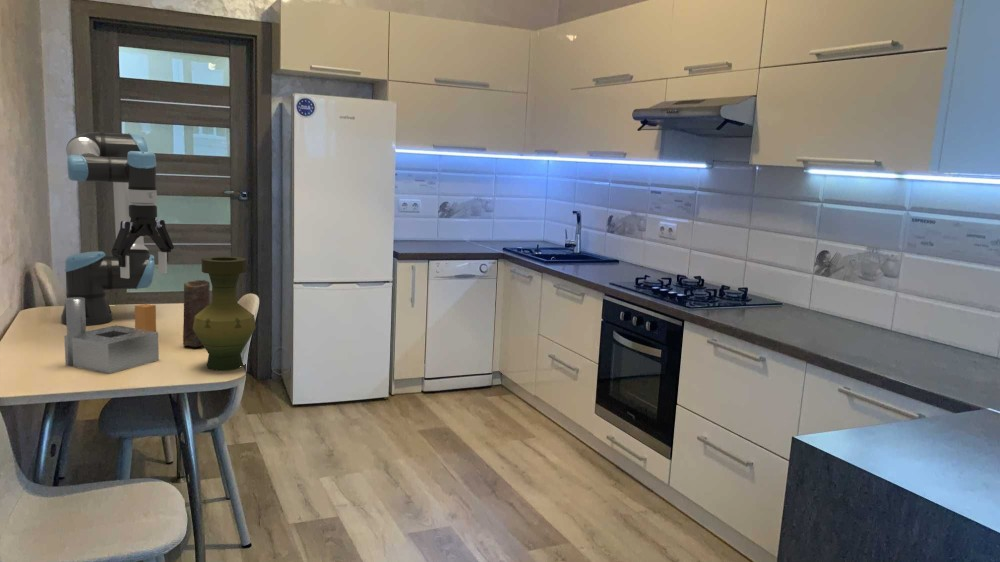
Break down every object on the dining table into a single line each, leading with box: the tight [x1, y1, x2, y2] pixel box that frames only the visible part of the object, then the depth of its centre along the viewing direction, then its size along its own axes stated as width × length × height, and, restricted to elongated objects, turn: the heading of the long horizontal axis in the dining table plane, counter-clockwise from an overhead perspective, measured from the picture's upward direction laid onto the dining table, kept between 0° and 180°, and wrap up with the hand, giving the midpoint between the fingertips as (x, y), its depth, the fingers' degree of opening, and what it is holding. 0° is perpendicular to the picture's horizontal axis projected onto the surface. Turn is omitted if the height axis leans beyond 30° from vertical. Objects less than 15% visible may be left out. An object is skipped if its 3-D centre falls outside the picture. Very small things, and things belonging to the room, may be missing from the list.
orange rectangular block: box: [134, 303, 157, 332], centre depth 216 cm, size 4×4×12 cm
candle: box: [182, 279, 211, 348], centre depth 216 cm, size 8×7×20 cm
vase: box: [193, 255, 257, 372], centre depth 197 cm, size 16×16×30 cm
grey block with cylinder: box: [63, 297, 160, 375], centre depth 195 cm, size 16×16×18 cm
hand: (144, 275), depth 214 cm, fingers open, 13 cm apart
